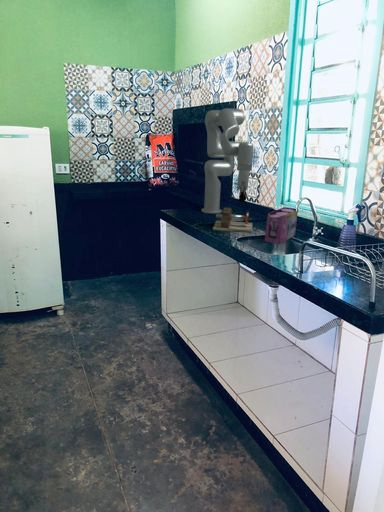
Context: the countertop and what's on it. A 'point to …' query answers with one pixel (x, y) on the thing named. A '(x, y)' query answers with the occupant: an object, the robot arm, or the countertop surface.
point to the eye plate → (231, 223)
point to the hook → (236, 217)
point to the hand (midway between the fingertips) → (242, 200)
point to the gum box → (281, 225)
